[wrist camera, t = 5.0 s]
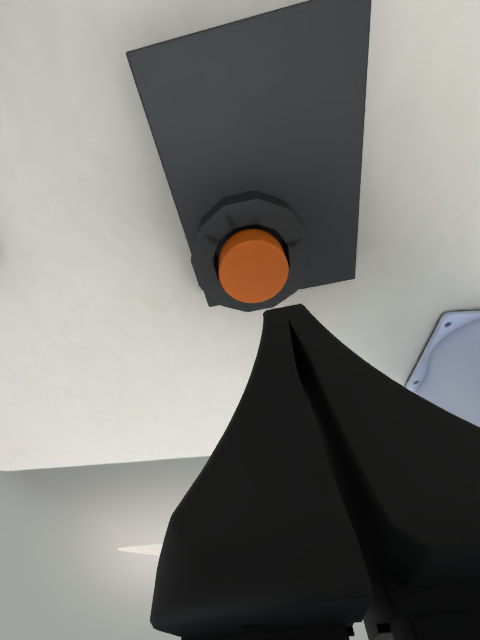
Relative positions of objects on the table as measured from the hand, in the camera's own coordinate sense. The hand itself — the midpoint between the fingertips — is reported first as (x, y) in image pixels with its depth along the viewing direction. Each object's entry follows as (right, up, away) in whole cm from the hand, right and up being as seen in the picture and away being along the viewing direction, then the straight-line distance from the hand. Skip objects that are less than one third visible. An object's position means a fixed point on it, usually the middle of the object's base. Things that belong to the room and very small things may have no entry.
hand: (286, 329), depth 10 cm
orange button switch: (0, +8, +6) cm, 10 cm away
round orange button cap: (-1, +4, +6) cm, 7 cm away
